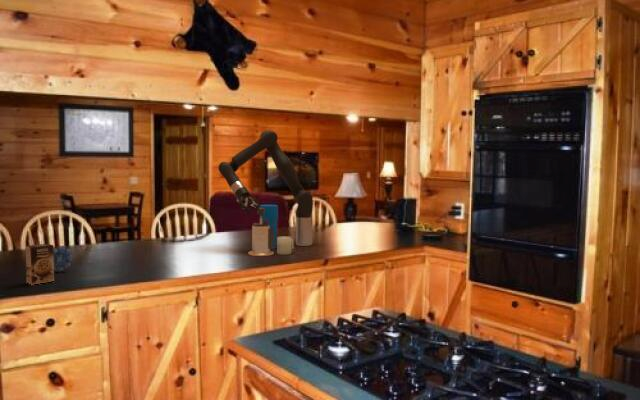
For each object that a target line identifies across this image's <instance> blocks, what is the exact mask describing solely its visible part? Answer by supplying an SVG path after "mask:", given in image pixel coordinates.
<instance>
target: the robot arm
mask: <svg viewBox="0 0 640 400" xmlns="http://www.w3.org/2000/svg"><path fill="white" fill-rule="evenodd" d="M264 150H266V151H267V152H268V154H269V155H270V157H271V159H272V161H273V163H274V165H275V168H276V169H277V171H278V172H279V174H280V176H281V178H282V180H284V182H285V183H286V185H287V187H288V188H289V190H290V192H291V194H292V197H293V199H294V200H295V203H296V204H297V211H296V212H295V245H296V246H298V247H299V246H300V247H303V246H304V247H307V246H309V247H310V246H312V245H313V229H312V213H313V207H314V206H313V205H314V204H313V203H314V202H313V201H314V200H313V195H312V193H311V192H309V191H307V190H305V189H304V187H303V185H302V184H301V182H300V181H299V177H298V174H297V173H298V172H297V170H296V168H295V166H294V165H293V163H292V161H291V159H290V158H289V157H288V156H287V155H286V153H285V152H283V150H282V149H281V147H280V145H279V143H278V134H277V133H276V132H275V131H274V130H264V131H262V132H261V134H260V137H259V139H257V141H255V142H254V143H252V144H250V145H249V146H247V147H246V148H244V149H242V150H240V151H238V153H236V154H235V155H234V156H232V157H231V161H230V162H227V161H222V162H220V163H219V164H218V167H217V169H218V171H219V173H220V174H221V176H222V177H223V178H224V179H225V181H226V183H227V185H228V186H229V188H230V189H231V191H232V193H233V194H234V196H235V197H236V200H235V201H236V203H237V205H238V207H239V208H240V210H241V209H242V210H244V211H245V212H246V213H247V215H249V214H251V213H252V211H251V209H250V208H249V206H251V207H254V208H255V211H257V213H258V208H260V205H261V202H260V201H259V200H258V199H257V197H256V196H253V197H252V196H251V195H250V191H249V190H248V188H247V187H246V185H245V184H244V183H243V181H242V180H241V179H240V177H239V176H238V175H237V174H236V172H237V171H238V170H239V168H240V167H242V166H243V165H245V164H246V163H247V162H249V161H250V160H252V158H254V157H256V155H258V154H259V153H261V152H263V151H264Z"/></svg>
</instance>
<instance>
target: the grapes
mask: <svg viewBox="0 0 640 400" xmlns="http://www.w3.org/2000/svg"><path fill="white" fill-rule="evenodd" d="M71 253H72V250H71V248H67V249H66V247H65V246H62V245H61V246H59V247H58V248H53V255H54V273H55V272H56V271H57V272H58V273H62V272H64V270H65V269H68V268H69V267H70V266H71V261H73V259H74V256H73V254H71ZM61 271H62V272H61Z"/></svg>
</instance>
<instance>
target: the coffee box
mask: <svg viewBox="0 0 640 400" xmlns="http://www.w3.org/2000/svg"><path fill="white" fill-rule="evenodd" d="M53 249H54V245H53V244H51V243H42V244H32V245H31V244H30V245H25V264H26V265H25V266H26V267H25V271H26V272H25V274H26V275H25V276H26V284H27V283H29V284H28V285H30V284H31V285H30V286H32V285H33V286H35V285H34V284H39V285H41V284H40V283H46V282H51V281H54V282H55V272H54V255H53ZM46 284H47V283H46Z"/></svg>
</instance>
